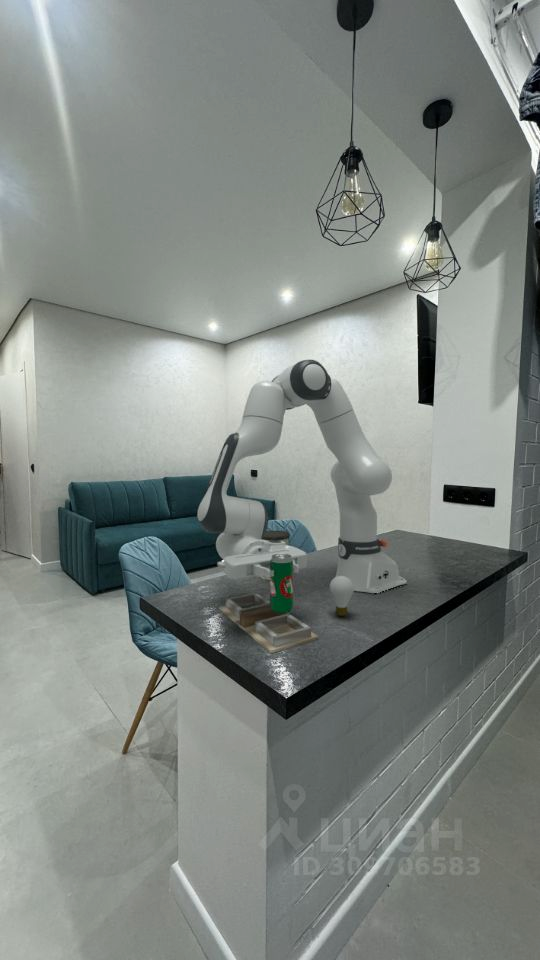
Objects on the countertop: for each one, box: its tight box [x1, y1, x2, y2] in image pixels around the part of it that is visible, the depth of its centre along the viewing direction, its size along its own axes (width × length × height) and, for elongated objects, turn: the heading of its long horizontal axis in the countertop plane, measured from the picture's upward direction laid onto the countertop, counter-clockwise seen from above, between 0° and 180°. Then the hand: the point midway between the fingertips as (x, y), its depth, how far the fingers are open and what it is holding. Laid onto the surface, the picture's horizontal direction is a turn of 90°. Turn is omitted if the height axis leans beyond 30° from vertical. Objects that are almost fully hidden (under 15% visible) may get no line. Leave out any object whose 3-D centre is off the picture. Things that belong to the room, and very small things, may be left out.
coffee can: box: [258, 530, 291, 581], centre depth 129 cm, size 10×10×14 cm
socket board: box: [218, 592, 319, 654], centre depth 93 cm, size 26×12×3 cm, turn 31°
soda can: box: [269, 554, 294, 614], centre depth 86 cm, size 5×5×12 cm
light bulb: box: [329, 576, 355, 617], centre depth 97 cm, size 6×6×10 cm
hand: (284, 571), depth 85 cm, fingers closed on soda can, 5 cm apart
